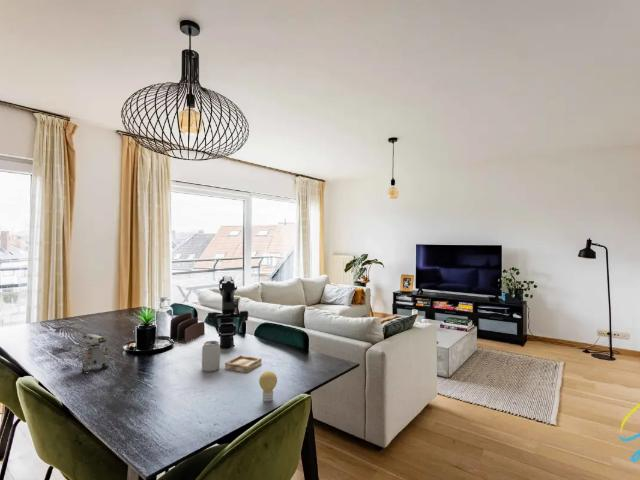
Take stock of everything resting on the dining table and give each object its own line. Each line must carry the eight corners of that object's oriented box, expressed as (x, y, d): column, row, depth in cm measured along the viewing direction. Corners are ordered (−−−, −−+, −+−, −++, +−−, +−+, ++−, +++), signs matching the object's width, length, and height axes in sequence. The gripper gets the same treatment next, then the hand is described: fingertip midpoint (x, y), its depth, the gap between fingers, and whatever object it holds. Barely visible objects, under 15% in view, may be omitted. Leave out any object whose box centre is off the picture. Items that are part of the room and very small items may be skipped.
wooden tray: (225, 368, 152) (225, 363, 152) (240, 360, 163) (240, 355, 163) (247, 372, 148) (247, 366, 148) (261, 363, 159) (261, 358, 159)
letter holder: (169, 342, 191) (169, 317, 191) (190, 333, 210) (190, 310, 210) (185, 344, 189) (185, 318, 189) (204, 334, 208) (205, 311, 208)
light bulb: (259, 396, 125) (260, 368, 125) (277, 395, 126) (277, 368, 126) (258, 404, 119) (258, 375, 119) (276, 404, 119) (276, 375, 120)
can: (223, 367, 153) (223, 340, 153) (212, 373, 146) (213, 345, 146) (209, 365, 156) (209, 339, 156) (198, 371, 149) (198, 343, 149)
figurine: (99, 363, 157) (100, 330, 157) (109, 369, 149) (110, 335, 150) (76, 369, 149) (77, 334, 150) (85, 375, 142) (86, 339, 142)
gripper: (208, 295, 161) (207, 325, 151) (248, 294, 166) (250, 323, 156) (208, 307, 169) (207, 337, 159) (246, 306, 174) (248, 334, 164)
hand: (228, 332), depth 160 cm, fingers open, 9 cm apart
